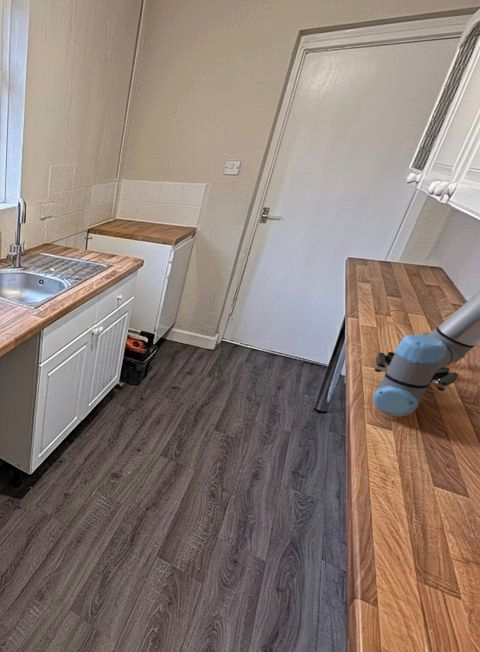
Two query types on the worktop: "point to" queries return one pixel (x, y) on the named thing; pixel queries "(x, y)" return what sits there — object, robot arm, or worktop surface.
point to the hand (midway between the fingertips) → (419, 358)
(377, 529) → the worktop surface
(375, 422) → the worktop surface
